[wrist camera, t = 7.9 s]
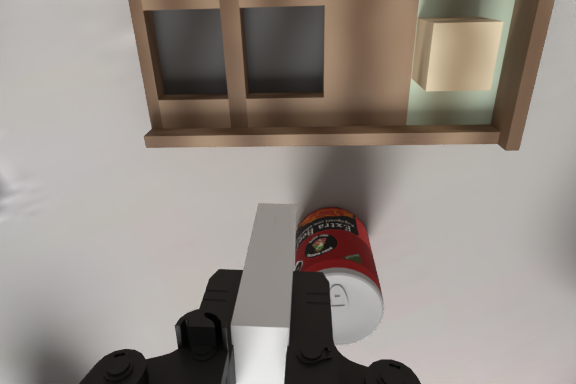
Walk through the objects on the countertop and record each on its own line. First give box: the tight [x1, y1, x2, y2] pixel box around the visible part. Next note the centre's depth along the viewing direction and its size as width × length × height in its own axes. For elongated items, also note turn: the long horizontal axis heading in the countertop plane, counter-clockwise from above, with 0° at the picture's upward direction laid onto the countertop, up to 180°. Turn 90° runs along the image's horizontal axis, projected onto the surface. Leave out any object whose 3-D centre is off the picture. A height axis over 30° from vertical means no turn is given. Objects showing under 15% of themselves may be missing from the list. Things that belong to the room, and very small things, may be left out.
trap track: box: [128, 0, 554, 151], centre depth 32 cm, size 30×14×6 cm, turn 92°
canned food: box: [295, 207, 384, 346], centre depth 39 cm, size 8×8×11 cm
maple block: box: [412, 16, 504, 91], centre depth 30 cm, size 4×4×4 cm
